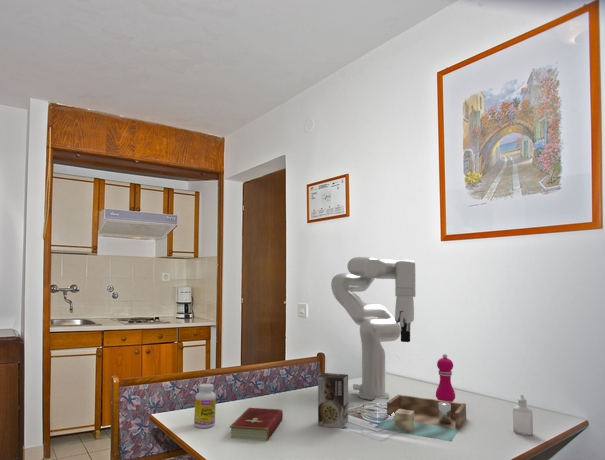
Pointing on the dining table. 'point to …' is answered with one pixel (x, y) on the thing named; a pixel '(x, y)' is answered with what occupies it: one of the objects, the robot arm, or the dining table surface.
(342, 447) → the dining table surface
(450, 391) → the pepper mill
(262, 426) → the hardcover book
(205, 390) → the supplement bottle
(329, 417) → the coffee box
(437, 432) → the cubby
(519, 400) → the eye dropper bottle
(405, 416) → the birch block
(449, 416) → the steel peg
